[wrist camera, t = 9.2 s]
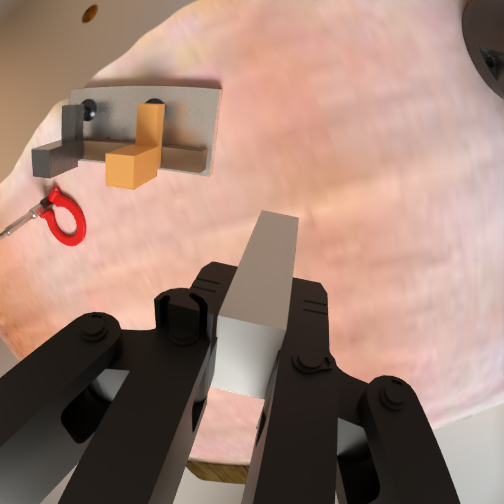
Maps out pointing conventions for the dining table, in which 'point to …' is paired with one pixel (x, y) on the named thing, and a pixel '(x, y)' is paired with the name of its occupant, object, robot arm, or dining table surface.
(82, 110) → the fixed leg
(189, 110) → the bolt plate
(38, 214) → the tow hook
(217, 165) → the dining table surface
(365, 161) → the dining table surface
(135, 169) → the orange toy chair
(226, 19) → the dining table surface
